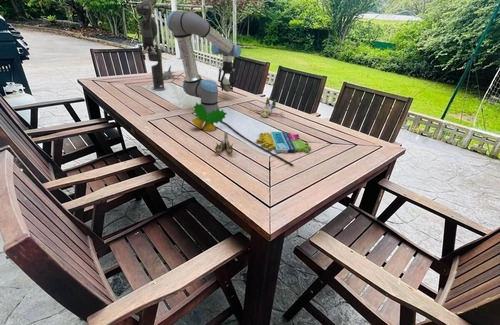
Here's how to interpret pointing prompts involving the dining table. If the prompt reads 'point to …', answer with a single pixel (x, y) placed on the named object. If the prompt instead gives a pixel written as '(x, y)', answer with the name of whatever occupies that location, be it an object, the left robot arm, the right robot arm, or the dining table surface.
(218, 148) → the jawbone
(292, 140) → the sign
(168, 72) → the airplane
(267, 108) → the toy
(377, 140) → the dining table surface
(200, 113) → the ornament
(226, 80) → the snakeskin print shoe
